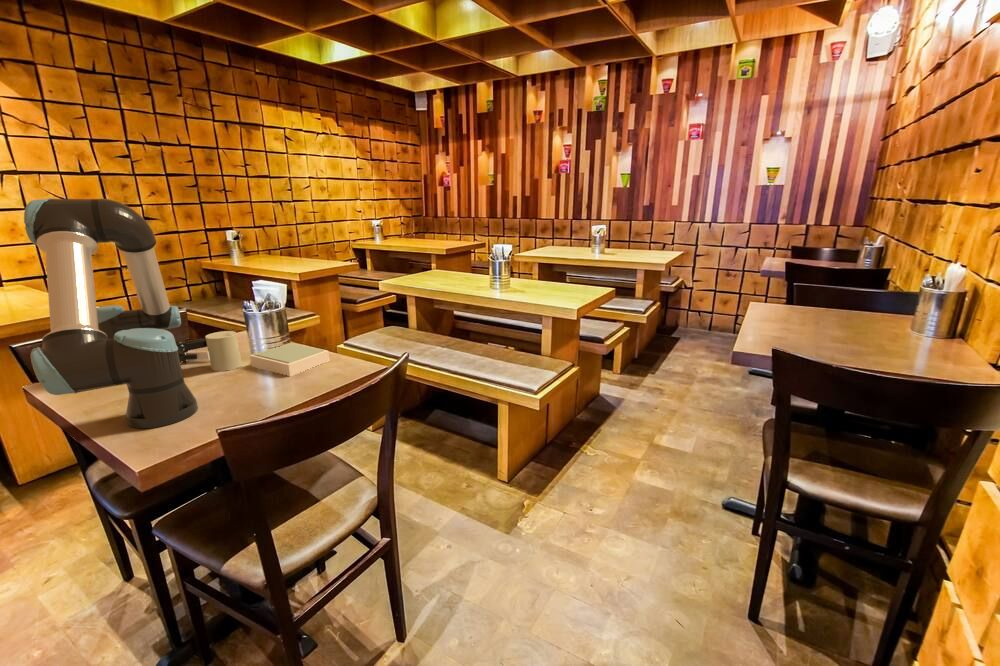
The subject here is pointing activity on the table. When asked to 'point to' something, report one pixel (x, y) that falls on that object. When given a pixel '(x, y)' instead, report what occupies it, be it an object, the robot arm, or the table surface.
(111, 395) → the table surface
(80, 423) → the table surface
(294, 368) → the block
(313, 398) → the table surface
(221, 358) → the can
